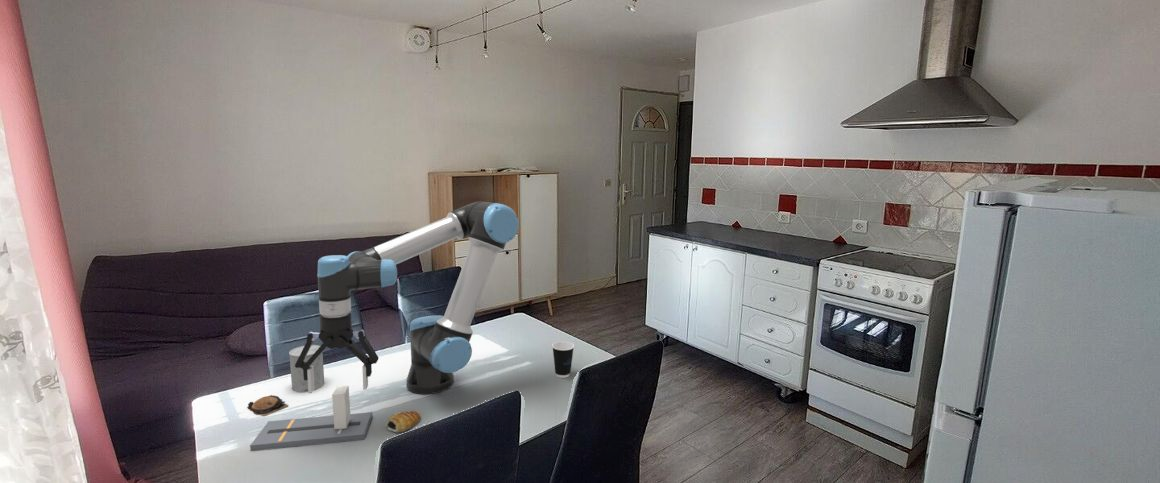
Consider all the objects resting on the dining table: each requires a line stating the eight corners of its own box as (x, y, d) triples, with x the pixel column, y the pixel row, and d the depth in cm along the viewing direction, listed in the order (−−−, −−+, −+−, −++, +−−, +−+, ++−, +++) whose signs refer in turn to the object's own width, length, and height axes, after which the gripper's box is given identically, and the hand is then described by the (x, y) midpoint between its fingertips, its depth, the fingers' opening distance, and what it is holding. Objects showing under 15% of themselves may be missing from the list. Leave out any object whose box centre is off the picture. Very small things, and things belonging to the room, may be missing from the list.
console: (372, 416, 143) (371, 411, 142) (363, 439, 131) (363, 433, 131) (268, 426, 137) (268, 420, 136) (250, 450, 125) (250, 445, 125)
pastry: (410, 414, 145) (410, 402, 144) (426, 421, 141) (426, 409, 141) (383, 429, 137) (382, 416, 136) (399, 436, 133) (398, 423, 133)
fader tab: (350, 418, 138) (348, 385, 136) (346, 428, 133) (344, 393, 132) (339, 419, 137) (336, 386, 136) (334, 429, 132) (332, 394, 131)
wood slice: (291, 407, 148) (290, 396, 148) (261, 419, 141) (260, 407, 141) (273, 398, 154) (272, 387, 153) (243, 409, 147) (242, 397, 146)
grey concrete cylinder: (310, 393, 156) (307, 357, 154) (284, 390, 158) (281, 354, 156) (331, 381, 165) (329, 346, 163) (306, 378, 167) (304, 343, 165)
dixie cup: (554, 369, 178) (555, 340, 176) (576, 371, 176) (576, 342, 175) (548, 378, 170) (549, 348, 169) (571, 380, 169) (571, 350, 167)
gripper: (278, 320, 124) (283, 398, 127) (383, 316, 129) (385, 392, 133) (288, 311, 131) (293, 386, 134) (387, 308, 137) (389, 380, 140)
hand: (338, 389), depth 133 cm, fingers open, 13 cm apart
